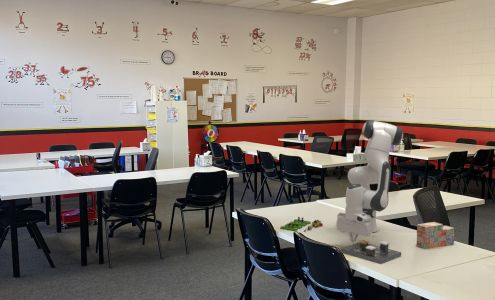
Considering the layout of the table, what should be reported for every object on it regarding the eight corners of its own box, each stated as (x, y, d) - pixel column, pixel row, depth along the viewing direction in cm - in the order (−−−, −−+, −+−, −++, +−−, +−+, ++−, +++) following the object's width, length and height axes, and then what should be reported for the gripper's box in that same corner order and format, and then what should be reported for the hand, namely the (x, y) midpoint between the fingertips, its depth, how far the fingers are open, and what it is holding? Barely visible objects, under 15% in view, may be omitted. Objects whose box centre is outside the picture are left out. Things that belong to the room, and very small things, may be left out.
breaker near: (365, 253, 239) (365, 247, 239) (369, 252, 241) (369, 245, 241) (371, 255, 236) (371, 248, 236) (375, 254, 239) (376, 247, 238)
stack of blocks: (445, 241, 270) (446, 220, 268) (454, 244, 264) (455, 222, 263) (416, 246, 261) (417, 223, 259) (424, 249, 255) (425, 226, 254)
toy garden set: (296, 222, 313) (296, 215, 313) (323, 226, 303) (324, 218, 303) (280, 229, 294) (280, 222, 293) (309, 234, 284) (309, 226, 283)
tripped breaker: (359, 247, 249) (359, 241, 249) (363, 246, 251) (363, 240, 251) (364, 249, 246) (365, 242, 246) (369, 247, 249) (369, 241, 248)
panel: (340, 252, 249) (340, 248, 249) (361, 245, 261) (361, 241, 261) (381, 263, 231) (381, 259, 231) (401, 256, 243) (401, 251, 243)
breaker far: (379, 249, 247) (379, 242, 247) (382, 247, 249) (383, 241, 249) (385, 250, 244) (385, 244, 244) (389, 249, 247) (389, 242, 246)
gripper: (334, 212, 258) (333, 238, 259) (366, 219, 243) (366, 246, 244) (341, 211, 262) (340, 236, 264) (373, 217, 247) (373, 243, 249)
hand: (353, 241), depth 254 cm, fingers closed
